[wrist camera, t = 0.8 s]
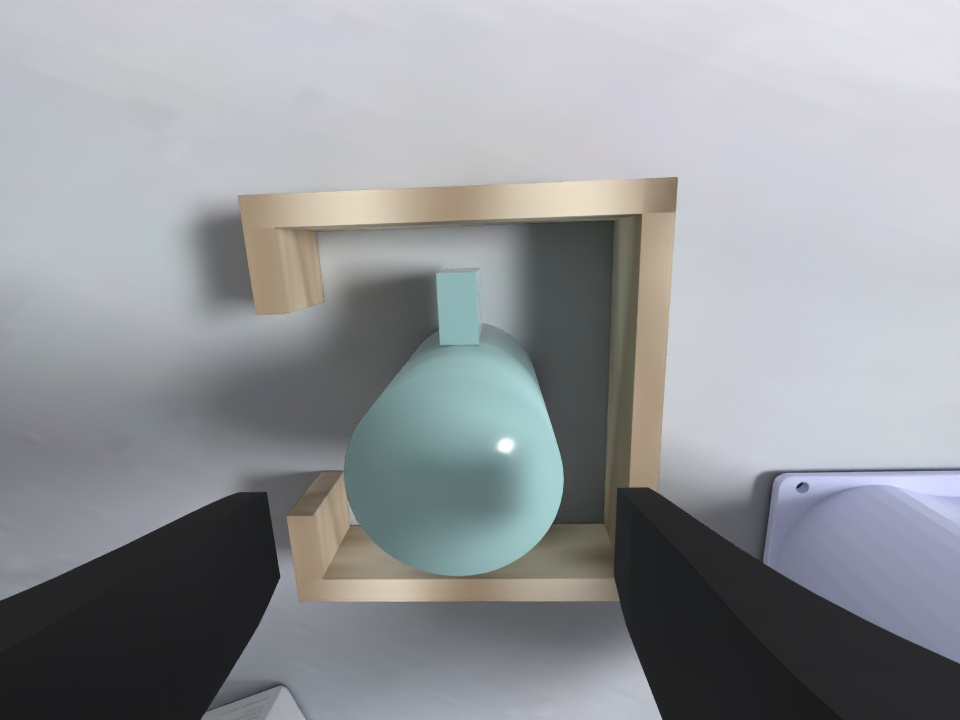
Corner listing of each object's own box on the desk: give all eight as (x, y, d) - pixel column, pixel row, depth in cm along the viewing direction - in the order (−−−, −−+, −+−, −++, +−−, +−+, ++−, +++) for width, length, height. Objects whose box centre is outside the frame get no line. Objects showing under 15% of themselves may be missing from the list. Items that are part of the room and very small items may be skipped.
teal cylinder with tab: (535, 264, 18) (565, 277, 10) (536, 446, 20) (562, 575, 12) (396, 269, 18) (321, 285, 10) (410, 448, 20) (355, 576, 12)
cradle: (642, 191, 17) (677, 177, 14) (625, 542, 21) (650, 601, 17) (287, 205, 18) (237, 195, 14) (330, 545, 21) (299, 601, 18)
